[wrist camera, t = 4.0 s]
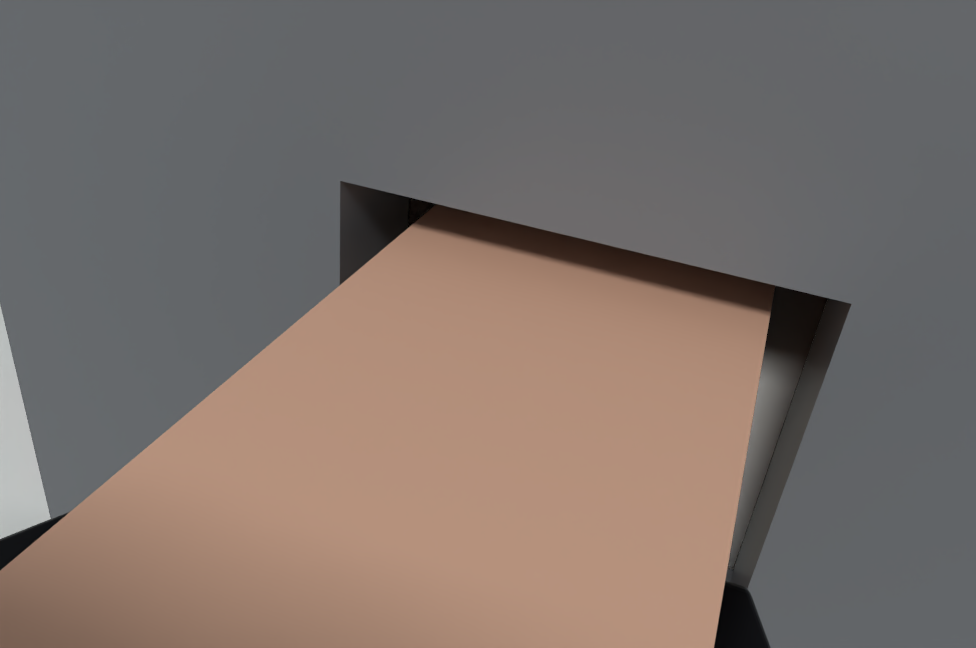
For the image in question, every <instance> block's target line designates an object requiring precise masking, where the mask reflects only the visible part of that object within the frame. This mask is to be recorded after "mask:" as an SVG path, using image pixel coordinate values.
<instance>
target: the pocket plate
mask: <svg viewBox="0 0 976 648" xmlns="http://www.w3.org/2000/svg"><path fill="white" fill-rule="evenodd" d="M409 197H410V198H414V199H418V200H422V201H426V202H430V203H435V204H439V205H443V206H447V207H451V208H455V209H459V210H464V211H468V212H472V213H476V214H480V215H484V216H489V217H493V218H497V219H501V220H505V221H509V222H514V223H518V224H522V225H526V226H530V227H534V228H538V229H543V230H547V231H551V232H555V233H559V234H563V235H568V236H572V237H576V238H580V239H584V240H588V241H593V242H597V243H601V244H605V245H609V246H613V247H617V248H622V249H626V250H630V251H634V252H638V253H642V254H647V255H651V256H655V257H659V258H663V259H667V260H671V261H676V262H680V263H684V264H688V265H692V266H696V267H701V268H705V269H709V270H713V271H717V272H721V273H726V274H730V275H734V276H738V277H742V278H746V279H750V280H755V281H759V282H763V283H767V284H771V285H775V286H780V287H784V288H788V289H792V290H796V291H800V292H805V293H809V294H813V295H817V296H821V297H825V298H828V299H827V301H826V304H825V307H824V310H823V313H822V316H821V319H820V322H819V324H818V327H817V330H816V333H815V336H814V339H813V342H812V345H811V347H810V350H809V353H808V356H807V359H806V362H805V365H804V368H803V370H802V373H801V376H800V379H799V382H798V385H797V388H796V391H795V394H794V396H793V399H792V402H791V405H790V408H789V411H788V414H787V417H786V419H785V422H784V425H783V428H782V431H781V434H780V437H779V440H778V442H777V445H776V448H775V451H774V454H773V457H772V460H771V463H770V465H769V468H768V471H767V474H766V477H765V480H764V483H763V486H762V488H761V491H760V494H759V497H758V500H757V503H756V506H755V509H754V512H753V514H752V517H751V520H750V523H749V526H748V529H747V532H746V535H745V537H744V540H743V543H742V546H741V549H740V552H739V555H738V558H737V560H736V563H735V566H734V569H733V570H730V569H727V573H726V579H725V580H727V581H730V582H733V583H736V584H739V585H742V586H744V587H746V588H747V589H748V590H749V592H750V594H751V596H752V598H753V601H754V604H755V606H756V609H757V612H758V614H759V617H760V620H761V623H762V625H763V628H764V631H765V634H766V636H767V639H768V642H769V644H770V647H771V648H976V0H0V304H1V309H2V313H3V317H4V321H5V326H6V330H7V334H8V338H9V343H10V347H11V351H12V355H13V360H14V364H15V368H16V372H17V377H18V381H19V385H20V389H21V394H22V398H23V402H24V406H25V411H26V415H27V419H28V423H29V428H30V432H31V436H32V440H33V445H34V449H35V453H36V457H37V462H38V466H39V470H40V474H41V479H42V483H43V487H44V491H45V496H46V500H47V504H48V508H49V513H50V517H51V519H52V518H55V517H57V516H60V515H63V514H65V513H68V512H70V511H72V510H73V509H74V508H75V507H77V506H78V505H79V504H80V503H81V502H83V501H84V500H85V499H86V498H87V497H88V496H90V495H91V494H92V493H93V492H94V491H96V490H97V489H98V488H99V487H100V486H102V485H103V484H104V483H105V482H106V481H108V480H109V479H110V478H111V477H112V476H113V475H115V474H116V473H117V472H118V471H119V470H121V469H122V468H123V467H124V466H125V465H127V464H128V463H129V462H130V461H131V460H133V459H134V458H135V457H136V456H137V455H138V454H140V453H141V452H142V451H143V450H144V449H146V448H147V447H148V446H149V445H150V444H152V443H153V442H154V441H155V440H156V439H158V438H159V437H160V436H161V435H162V434H163V433H165V432H166V431H167V430H168V429H169V428H171V427H172V426H173V425H174V424H175V423H177V422H178V421H179V420H180V419H181V418H183V417H184V416H185V415H186V414H187V413H188V412H190V411H191V410H192V409H193V408H194V407H196V406H197V405H198V404H199V403H200V402H202V401H203V400H204V399H205V398H206V397H208V396H209V395H210V394H211V393H212V392H213V391H215V390H216V389H217V388H218V387H219V386H221V385H222V384H223V383H224V382H225V381H227V380H228V379H229V378H230V377H231V376H233V375H234V374H235V373H236V372H237V371H238V370H240V369H241V368H242V367H243V366H244V365H246V364H247V363H248V362H249V361H250V360H252V359H253V358H254V357H255V356H256V355H258V354H259V353H260V352H261V351H262V350H263V349H265V348H266V347H267V346H268V345H269V344H271V343H272V342H273V341H274V340H275V339H277V338H278V337H279V336H280V335H281V334H283V333H284V332H285V331H286V330H287V329H289V328H290V327H291V326H292V325H293V324H294V323H296V322H297V321H298V320H299V319H300V318H302V317H303V316H304V315H305V314H306V313H308V312H309V311H310V310H311V309H312V308H314V307H315V306H316V305H317V304H318V303H319V302H321V301H322V300H323V299H324V298H325V297H327V296H328V295H329V294H330V293H331V292H333V291H334V290H335V289H336V288H337V287H339V286H340V285H341V284H342V283H343V282H344V281H346V280H347V279H348V278H349V277H350V276H352V275H353V274H354V273H355V272H356V271H358V270H359V269H360V268H361V267H362V266H364V265H365V264H366V263H367V262H368V261H369V260H371V259H372V258H373V257H374V256H375V255H377V254H378V253H379V252H380V251H381V250H383V249H384V248H385V247H386V246H387V245H389V244H390V243H391V242H392V241H393V240H394V239H396V238H397V237H398V236H399V235H400V234H402V233H403V232H404V231H405V230H406V229H408V210H409Z"/></svg>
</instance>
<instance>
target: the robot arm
mask: <svg viewBox="0 0 976 648" xmlns="http://www.w3.org/2000/svg"><path fill="white" fill-rule="evenodd" d="M70 512H71V511H70ZM68 513H69V512H68ZM68 513H65V514H63V515H60V516H57V517H55V518H52V519H50V520H47V521H45V522H42V523H40V524H37V525H35V526H32V527H30V528H27V529H25V530H22V531H20V532H17V533H15V534H12V535H10V536H7V537H4V538H2V539H0V570H2V569H3V568H4V567H5V566H6V565H7V564H9V563H10V562H11V561H12V560H13V559H15V558H16V557H17V556H18V555H19V554H21V553H22V552H23V551H24V550H25V549H27V548H28V547H29V546H30V545H31V544H32V543H34V542H35V541H36V540H37V539H38V538H40V537H41V536H42V535H43V534H44V533H46V532H47V531H48V530H49V529H50V528H52V527H53V526H54V525H55V524H56V523H57V522H59V521H60V520H61V519H62V518H63V517H65V516H66V515H67V514H68ZM714 648H771V647H770V644H769V642H768V639H767V636H766V634H765V631H764V628H763V625H762V623H761V620H760V617H759V614H758V612H757V609H756V606H755V604H754V601H753V598H752V596H751V594H750V592H749V590H748V589H747V588H746V587H744V586H742V585H739V584H736V583H733V582H730V581H727V580H725V585H724V591H723V597H722V603H721V609H720V615H719V621H718V627H717V632H716V638H715V644H714Z"/></svg>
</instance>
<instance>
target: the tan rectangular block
mask: <svg viewBox="0 0 976 648" xmlns="http://www.w3.org/2000/svg"><path fill="white" fill-rule="evenodd" d="M774 290H775V285H771V284H767V283H763V282H759V281H755V280H750V279H746V278H742V277H738V276H734V275H730V274H726V273H721V272H717V271H713V270H709V269H705V268H701V267H696V266H692V265H688V264H684V263H680V262H676V261H671V260H667V259H663V258H659V257H655V256H651V255H647V254H642V253H638V252H634V251H630V250H626V249H622V248H617V247H613V246H609V245H605V244H601V243H597V242H593V241H588V240H584V239H580V238H576V237H572V236H568V235H563V234H559V233H555V232H551V231H547V230H543V229H538V228H534V227H530V226H526V225H522V224H518V223H514V222H509V221H505V220H501V219H497V218H493V217H489V216H484V215H480V214H476V213H472V212H468V211H464V210H459V209H455V208H451V207H447V206H443V205H439V204H436V205H435V206H434V207H433V208H431V209H430V210H429V211H428V212H427V213H425V214H424V215H423V216H422V217H421V218H419V219H418V220H417V221H416V222H415V223H414V224H412V225H411V226H410V227H409V228H408V229H406V230H405V231H404V232H403V233H402V234H400V235H399V236H398V237H397V238H396V239H394V240H393V241H392V242H391V243H390V244H389V245H387V246H386V247H385V248H384V249H383V250H381V251H380V252H379V253H378V254H377V255H375V256H374V257H373V258H372V259H371V260H369V261H368V262H367V263H366V264H365V265H364V266H362V267H361V268H360V269H359V270H358V271H356V272H355V273H354V274H353V275H352V276H350V277H349V278H348V279H347V280H346V281H344V282H343V283H342V284H341V285H340V286H339V287H337V288H336V289H335V290H334V291H333V292H331V293H330V294H329V295H328V296H327V297H325V298H324V299H323V300H322V301H321V302H319V303H318V304H317V305H316V306H315V307H314V308H312V309H311V310H310V311H309V312H308V313H306V314H305V315H304V316H303V317H302V318H300V319H299V320H298V321H297V322H296V323H294V324H293V325H292V326H291V327H290V328H289V329H287V330H286V331H285V332H284V333H283V334H281V335H280V336H279V337H278V338H277V339H275V340H274V341H273V342H272V343H271V344H269V345H268V346H267V347H266V348H265V349H263V350H262V351H261V352H260V353H259V354H258V355H256V356H255V357H254V358H253V359H252V360H250V361H249V362H248V363H247V364H246V365H244V366H243V367H242V368H241V369H240V370H238V371H237V372H236V373H235V374H234V375H233V376H231V377H230V378H229V379H228V380H227V381H225V382H224V383H223V384H222V385H221V386H219V387H218V388H217V389H216V390H215V391H213V392H212V393H211V394H210V395H209V396H208V397H206V398H205V399H204V400H203V401H202V402H200V403H199V404H198V405H197V406H196V407H194V408H193V409H192V410H191V411H190V412H188V413H187V414H186V415H185V416H184V417H183V418H181V419H180V420H179V421H178V422H177V423H175V424H174V425H173V426H172V427H171V428H169V429H168V430H167V431H166V432H165V433H163V434H162V435H161V436H160V437H159V438H158V439H156V440H155V441H154V442H153V443H152V444H150V445H149V446H148V447H147V448H146V449H144V450H143V451H142V452H141V453H140V454H138V455H137V456H136V457H135V458H134V459H133V460H131V461H130V462H129V463H128V464H127V465H125V466H124V467H123V468H122V469H121V470H119V471H118V472H117V473H116V474H115V475H113V476H112V477H111V478H110V479H109V480H108V481H106V482H105V483H104V484H103V485H102V486H100V487H99V488H98V489H97V490H96V491H94V492H93V493H92V494H91V495H90V496H88V497H87V498H86V499H85V500H84V501H83V502H81V503H80V504H79V505H78V506H77V507H75V508H74V509H73V510H72V511H71V512H69V513H68V514H67V515H66V516H65V517H63V518H62V519H61V520H60V521H59V522H57V523H56V524H55V525H54V526H53V527H52V528H50V529H49V530H48V531H47V532H46V533H44V534H43V535H42V536H41V537H40V538H38V539H37V540H36V541H35V542H34V543H32V544H31V545H30V546H29V547H28V548H27V549H25V550H24V551H23V552H22V553H21V554H19V555H18V556H17V557H16V558H15V559H13V560H12V561H11V562H10V563H9V564H7V565H6V566H5V567H4V568H3V569H2V570H0V648H714V644H715V638H716V632H717V627H718V621H719V615H720V609H721V603H722V597H723V591H724V585H725V579H726V573H727V568H728V562H729V556H730V550H731V544H732V538H733V532H734V526H735V520H736V514H737V509H738V503H739V497H740V491H741V485H742V479H743V473H744V467H745V461H746V455H747V450H748V444H749V438H750V432H751V426H752V420H753V414H754V408H755V402H756V396H757V390H758V385H759V379H760V373H761V367H762V361H763V355H764V349H765V343H766V337H767V331H768V326H769V320H770V314H771V308H772V302H773V296H774Z"/></svg>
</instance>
